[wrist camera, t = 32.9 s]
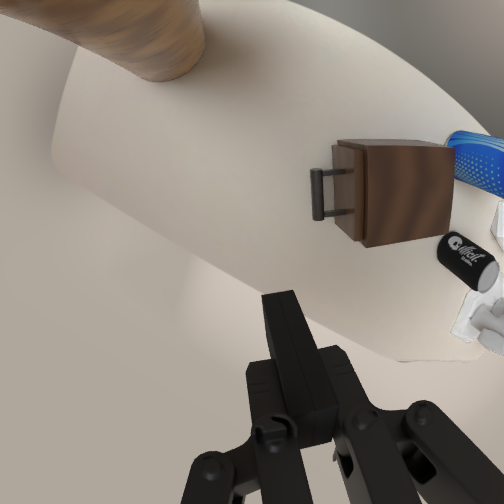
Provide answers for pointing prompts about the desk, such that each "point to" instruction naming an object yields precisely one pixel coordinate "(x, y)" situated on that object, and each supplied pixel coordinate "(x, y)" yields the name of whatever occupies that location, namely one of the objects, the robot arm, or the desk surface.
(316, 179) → the drawer
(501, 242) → the crumpled paper wad
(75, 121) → the desk surface
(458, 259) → the beverage can
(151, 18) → the pedestal
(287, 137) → the desk surface
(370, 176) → the cabinet
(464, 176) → the beer can
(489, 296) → the grey figurine
